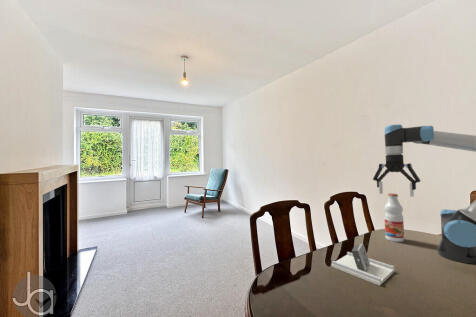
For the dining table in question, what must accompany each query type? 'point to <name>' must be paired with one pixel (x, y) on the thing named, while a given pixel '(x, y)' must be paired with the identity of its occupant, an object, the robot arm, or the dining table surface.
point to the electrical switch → (360, 257)
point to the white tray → (374, 273)
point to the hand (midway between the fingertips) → (395, 194)
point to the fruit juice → (394, 219)
